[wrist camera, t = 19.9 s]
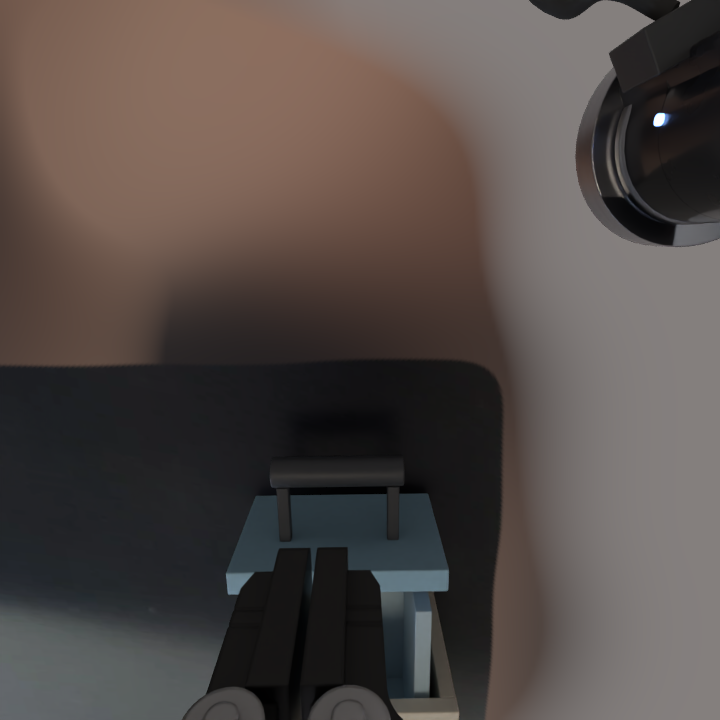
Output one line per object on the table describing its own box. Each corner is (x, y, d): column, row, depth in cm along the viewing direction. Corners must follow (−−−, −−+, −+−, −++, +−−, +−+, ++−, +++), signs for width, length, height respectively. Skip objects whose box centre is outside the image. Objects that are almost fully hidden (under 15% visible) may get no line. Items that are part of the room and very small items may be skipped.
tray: (250, 425, 27) (216, 485, 21) (430, 422, 28) (453, 481, 21) (269, 673, 32) (246, 787, 26) (423, 671, 32) (440, 783, 26)
